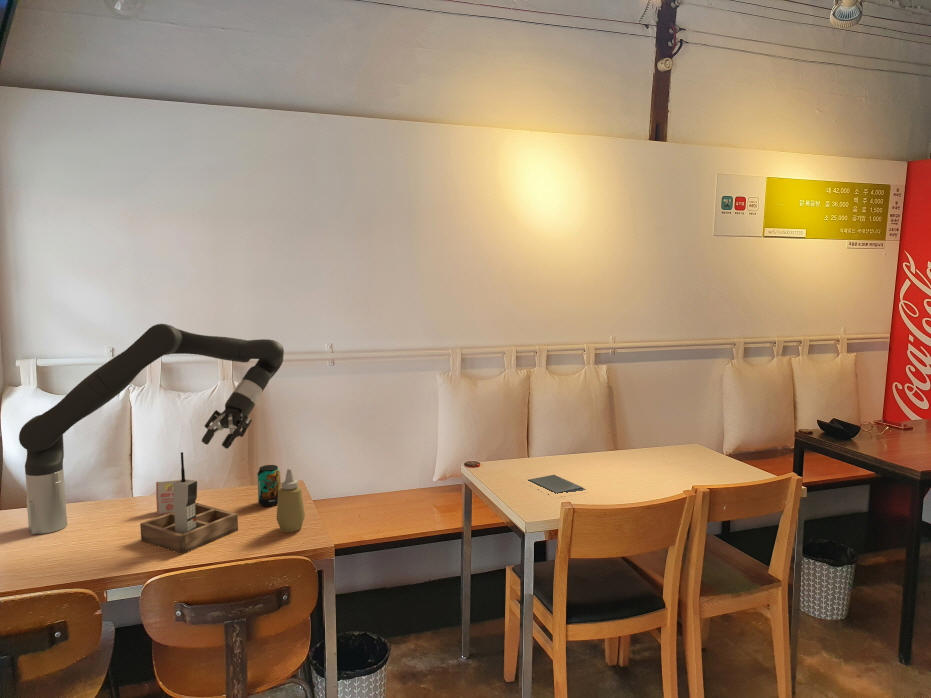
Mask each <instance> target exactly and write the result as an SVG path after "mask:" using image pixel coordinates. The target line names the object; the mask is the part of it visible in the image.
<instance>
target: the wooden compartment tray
mask: <svg viewBox="0 0 931 698" xmlns="http://www.w3.org/2000/svg"><path fill="white" fill-rule="evenodd" d="M238 517H239V516H238V513H236V512H232V511H229V510H224V509H221V508H218V507H217V508H216V507H214V506H210V505H206V504H203V503H199V502H196V522H197V528H196V529H194V530H191V531H189V532H186V533H184V534H181V533H178V532H175V513H174V512H171V513H168V514H164V515H159V516H157V517H154V518H152V519H148V520H146V521H144V522H141V523H139V524H140V525H139V527H140V540H141V541H142V542H144V543H148V544H149V543H150V544H149V545H152V544H153V546H155V545H156V547H158V546H159V547H158V548H161V547H162V549H164V548H165V549H164V550H167V549H169V550H168V551H170V550H171V552H173V551H175V552H174V553H176V552H177V554H179V553H181V554H180V555H182V554H183V555H185V554H187V553H189V552H192V551H194V550H196V549H199V548H201V547H203V546H205V545H208V544H210V543H212V542H215V541H216V540H220V539H221V538H223V537H227V536H228V535H231V534H233V533H235V532H238V531H239V521H238V520H239V518H238ZM198 547H199V548H198ZM191 550H192V551H191ZM188 551H189V552H188ZM186 552H187V553H186ZM184 553H185V554H184Z"/></svg>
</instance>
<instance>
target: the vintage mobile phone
mask: <svg viewBox="0 0 931 698" xmlns="http://www.w3.org/2000/svg"><path fill="white" fill-rule="evenodd" d="M180 464H181V469H180V474H181V479H179V480H180V481H177V482H175V483H174V484H173V495H174V513H175V532H178V533H181V534H184V533H186V532H189V531H191V530H194V529H196V528H197V522H196V503H197V502H196V501H197V497H198V480H194V479H193V480H192V479H186V476H185V475H186V474H185V473H186V472H185V466H184V465H185V464H184V452H182V451H181V452H180Z"/></svg>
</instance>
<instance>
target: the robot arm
mask: <svg viewBox="0 0 931 698" xmlns="http://www.w3.org/2000/svg"><path fill="white" fill-rule="evenodd" d="M182 354H183V355H184V354H185V355H186V354H187V355H196V356H197V355H198V356H204V357H209V358H214V359H217V360H222V361H230V362H237V363H248V362H250V361H251V360H257V361H256V363H255V364H254V365H253V366H251V367H250V368H249V369H248V370H247V371H246V373H245V374H244V376H243V377H242V379H241V380H240V382H238V384H237V385H236V386H235V387H234V390H233V391H232V393H230V396H229V397H228V398H227V400H226V402H225V404H224V408H225V409H224V410H223V411H222V412H220V411H219V410H217V409H216V410H214V412H213V413H212V415H211V416H210V417H209V418H208V420H207V421H206V423H205V424H204V427H205V428H206V430H207V431H206V432H205V434H204V435H203V437H202V439H201V442H202V443H203V444H205V445H209V444H210V442H211V441H212V440H213V437H214V436H215V434H217V433H218V432H219V431H223V430H224V429H228V430H229V433H228V434H227V435H226V437H225V439H224V440H223V441H222V444H221V446H222V447H223V448H224V449H226V450H227V449H229V448H230V447H231V446H232V445H233V442H234V441H235V439H237V438H238V437H241V438H242V437H244V435H245V434H246V432H247V430H248V428H249V427H250V425H251V424H252V418H250V417H249V416H250V415H251V413H252V411H253V409H254V408H255V406H256V405H257V403H258V402H259V400H260V398H261V396H262V393H264V392H263V391H264V390H265V389H266V387H267V385H268V384H269V382H270V380H271V379H272V378H273V377H274V376H275V374H276V373H277V372H278V371H279V370H280V368H281V366H282V364H283V362H284V355H285V349H284V346H283V345H282V344H281V343H280V342H279V341H277V340H274V339H268V338H267V339H265V338H262V339H249V340H246V339H242V338H236V337H228V336H215V335H205V334H204V335H203V334H198V333H194V332H189V331H186V330H182V329H179V328H177V327H175V326H172V325H170V324H168V323H157V324H154V325H152V326H150V327H149V328H148V329H147V330H146V331H145V332H144V333H143V334H142V335H141V336H140V337H139V338H138V339H136V340H135V341H134V342H133V343H132V344H131V345H130V346H129V347H127V348H126V349H125V350H124V351H122V352H121V353H119V354H118V355H116V356H114V357H113V358H111V359H109V360H108V361H107V362H106V363H104V364H102V365H101V366H100V367H98V368H97V369H95V370H94V371H93V372H91V373H90V374H89V375H88V376H86V377H85V378H83V379H82V380H81V381H80V382H79V383H78V384H77V385H75V387H73V388H72V389H71V390H70V391H69V392H68V393H67V394H66V395H65V396H64V397H63V398H62V399H60V401H59V402H58V403H57V404H55V405H54V406H52V407H51V408H49V409H48V410H47V411H45V412H43V413H42V414H37V415H36V416H33V417H32V418H31V419H29V420H28V421H26V423H24V424H23V426H22V427H21V429H20V431H19V434H18V442H19V444H20V446H21V447H22V448H24V449H25V450H26V459H25V463H24V472H25V473H24V475H25V476H24V477H25V485H26V496H27V497H26V511H27V523H28V529H29V532H30V535H31V536H32V535H41V534H50V533H54V532H57V531H60V530H62V529H64V528H66V527H67V526H68V516H67V502H66V501H67V499H66V490H65V477H64V457H65V450H64V434H65V433H66V432H68V431H69V430H70V429H71V428H72V427H73V426H75V425H76V424H77V423H78V422H79V421H81V420H83V419H85V418H86V417H88V416H90V415H91V414H93V413H94V412H95V411H97V410H99V409H100V408H102V407H103V406H104V405H106V404H107V403H109V402H110V401H112V399H115V397H117V396H119V394H121V393H122V392H123V391H124V390H125V389H126V388H127V387H128V386H129V385H130V384H131V383H132V382H133V381H134V380H135V378H136V377H137V376H138V375H139V374H140V373H141V372H142V371H143V370H144V369H145V368H147V367H148V366H149V365H151V364H152V363H153V362H155V361H157V360H158V359H160V358H161V357H163V356H169V355H182ZM211 423H212V424H211Z"/></svg>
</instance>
